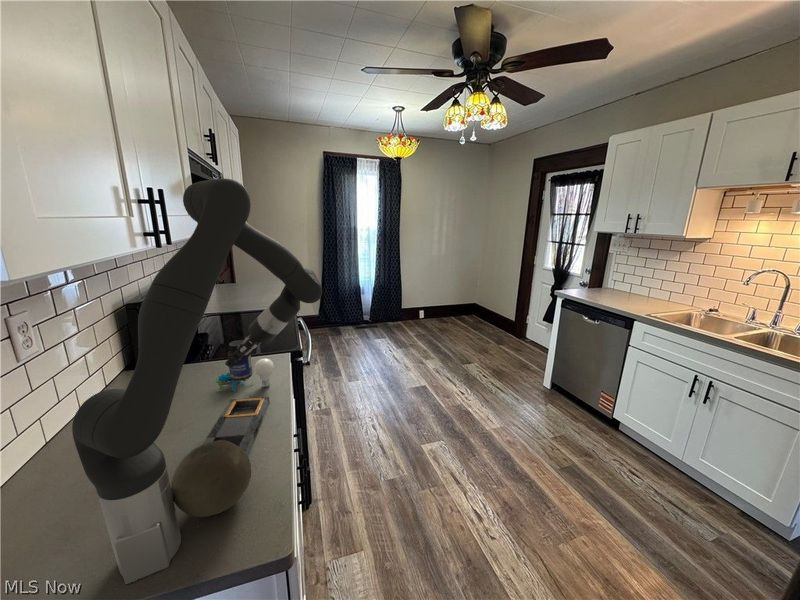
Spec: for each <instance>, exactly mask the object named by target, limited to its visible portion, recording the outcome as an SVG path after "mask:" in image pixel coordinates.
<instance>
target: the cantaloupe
mask: <svg viewBox="0 0 800 600" xmlns="http://www.w3.org/2000/svg"><path fill="white" fill-rule="evenodd" d="M202 444H203V443H202ZM202 444H201V445H199V446H197V447H196V448H194V449H193V450H191V451H190V452H189V453H188V454H187V455H186V456H185V457H184V458H183V459H182V460H181V461H180V463H179V464H178V466H177V468H176V469H175V471H174V473H173V476H172V478H171V483H170V486H171V491H172V496H173V501H174V505H175V506H177V508H179V510H180V511H182V512H184V513H185V514H186V515H187V516H191V517H194V518H205V517H206V518H207V517H211V516H215V515H218V514H220V513H222V512H224V511H227V510H228V509H229V508H231V507H232V506H233V505H235V504H236V503H237V502H238V501H239V500H240V498H242V496H243V495H244V493H245V492H246V491H247V488H248V486H249V484H250V482H251V478H252V464H251V462H250V458H249V455H248V456H247V454H246V452H245V451H244V450H243V449H242V448H240V447H239V446H238V445H236V443H234V444H233V443H232V442H229V441H224V440H218V441H214V442H210V443H206V444H203V445H202Z"/></svg>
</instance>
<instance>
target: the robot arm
mask: <svg viewBox="0 0 800 600" xmlns="http://www.w3.org/2000/svg"><path fill="white" fill-rule="evenodd" d="M182 203H183V206H184V209H185V211H186V213H187V214H188V216H190V218H191V219H192V220H193V221H195V222H196V223H197V224H196V227H195V229H194V231H193V233H192V234H191V236H190V237H189V238H188V240H187V241H186V242H185V243H184V244H183V246H182V247H181V248H180V249H179V250H178V251H177V252H176V253H175V254H173V256H172V257H171V258H169V260H168V261H167V262H166V263H165V264H164V265H163V266H162V267H161V269H160V270H159V271H158V272H157V274H156V275H155V277H154V278H153V280H152V282H151V284H150V287H149V288H148V289H147V292H146V295H145V297H144V299H143V301H142V303H141V305H140V309H139V312H138V317H137V339H138V340H137V341H138V355H137V359H136V360H137V361H136V364H135V368H134V370H133V373H132V375H131V378H130V380H129V383H128V384H127V386H126V389H124V388H109V389H105V390H102V391H99V392H97V393H95V394H92V395H91V396H90V397H88V398H87V399H86V400H85V401H84V402H83V403H81V405H80V406H79V407H78V409H77V411H76V413H75V415H74V417H73V420H72V424H71V425H72V426H71V432H72V438H73V442H74V446H75V448H76V450H77V451H76V452H77V454H78V456H79V460H80V462H81V465H82V468H83V471H84V474H85V475H86V477H87V478H88V480H89V482H90V483H91V484H92V485H93V486H94V488H95V490H96V493H97V496H98V500H99V504H100V506H101V510H102V515H103V518H104V521H105V525H106V529H107V533H108V536H109V539H110V542H111V547H112V550H113V554H114V556H115V560H116V563H117V567H118V571H119V573H120V575H121V576H122V577H123V582H124V585H125V584H127V585H129V584H131V582H132V583H134V582H137V581H139V580H141V579H143V578H146V577H147V576H148V577H149V576H151V575H152V574H154V573H155V574H156V573H157V572H160V571H163V570H164V569H167V568H169V566H170V562H171V560H172V559H173V558H174V557H175V555H176V554H177V552H178V551H179V549H180V546H181V543H182V535H181V529H180V524H179V521H178V515H177V512H176V504H175V503H174V501H173V496H172V491H171V483H170V482H171V481H170V477H169V472H168V467H167V462H166V458H165V454H164V452H163V451H162V449H161V448H160V447H159V446H158V445H156V443H155V441H157V439H158V437H159V436H160V434H161V433H162V431H163V429H164V427H165V425H166V422H167V420H168V416H169V413H170V411H171V407H172V403H173V400H174V396H175V393H176V389H177V387H178V383H179V382H178V381H179V378H180V376H181V373H182V369H183V367H184V363H185V362H186V358H187V355H188V353H189V351H190V348H191V345H192V343H193V341H194V338H195V335H196V333H197V330H198V328H199V325H200V324H201V321H202V320H203V317H204V315H205V312H206V310H207V308H208V305H209V302H210V300H211V298H212V293H213V292H214V289H215V286H216V284H217V282H218V279H219V277H220V275H221V272H222V271H223V267H224V266H225V263H226V261H227V258H228V256H229V254H230V252H231V250H232V248H233V246H235V247H237V248H239V250H241V251H242V252H244V253H246V254H247V255H248V256H250V257H251V258H252V259H254V260H255V261H257V262H258V263H259V264H260V265H262V266H263V267H264V268H265V269H266V270H267V271H269V272H270V273H272V275H273V276H275V277H276V278H277V279H279V280H280V281H281V282H282V283H283V284H284V287H283V288H282V290H281V292H280V294H279V296H278V297H277V298H276V299H275V300H274V301H273V302H272V303H271V304H270V305H269V306H268V307H267V308H265V309H264V310H263V311H262V312H261V313H260V314H259V315H258V316H257V317H256V318H255V319H253V322H251V323H250V325H249V326H248V332H249V335H247V336H246V337H245V338H244V339H243V340H244V341H243V342H242V343H241V344H240V345H239V346H238V347H237V350H236V351H235V352H234V353H233V354H231V355H230V358H229V359H228V358H227V360H226V361H225V363H224V364H225V365H226V366H227V367H228V369H229V368H231V367H233V366H234V365H235V364H236V363H237V362H238V361H239V360H241V358H242V357H243V356H244V355H247V354H248V353H250V354H251V352H252V351H253V349H256V348H257V347H258V346H259V345H261V344H269V343H271V342H272V341H273V340H274V339H275V338H276V337H277V335H279V334H280V332H282V330H284V329H285V328H286V326H287V325H288V323H289V322H290V321H291V320H293V318H294V317H296V316H297V314H298V313H299V312H300V310H301V302H302V303H305V304H314V303H317V302H318V301H319V300H320V299H321V298H322V295H323V287H322V285H321V283H320V281H319V279H318V277H317V275H316V273H315V272H314V271H313V270H312V269H311V268H305V267H303V264H302V263H301V261H300V260H299V259H298V258H297V257H296V256H295V255H294V254H293V253H292V252H291V251H290V250H289V249H288V248H287V247H286V246H284V245H283V244H281V243H280V242H279V241H277V240H275V239H274V238H273V237H270V236H268V235H267V234H265V233H263V232H262V231H260V230H258V229H256V228H255V227H253V226H252V225H250V224H249V223H248V222H247V221H248V218H249V217H250V213H251V197H250V194H249V192H248V190H247V188H246V187H245V186H244V185H243V184H242V183H241V182H239V181H238V180H235V179H231V178H214V179H209V180H202V181H201V180H200V181H198V182H194V183H191V184H190V185H189V186H187V187H186V189H185V190H184V192H183V195H182ZM138 579H139V580H138ZM128 583H129V584H128Z"/></svg>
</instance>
